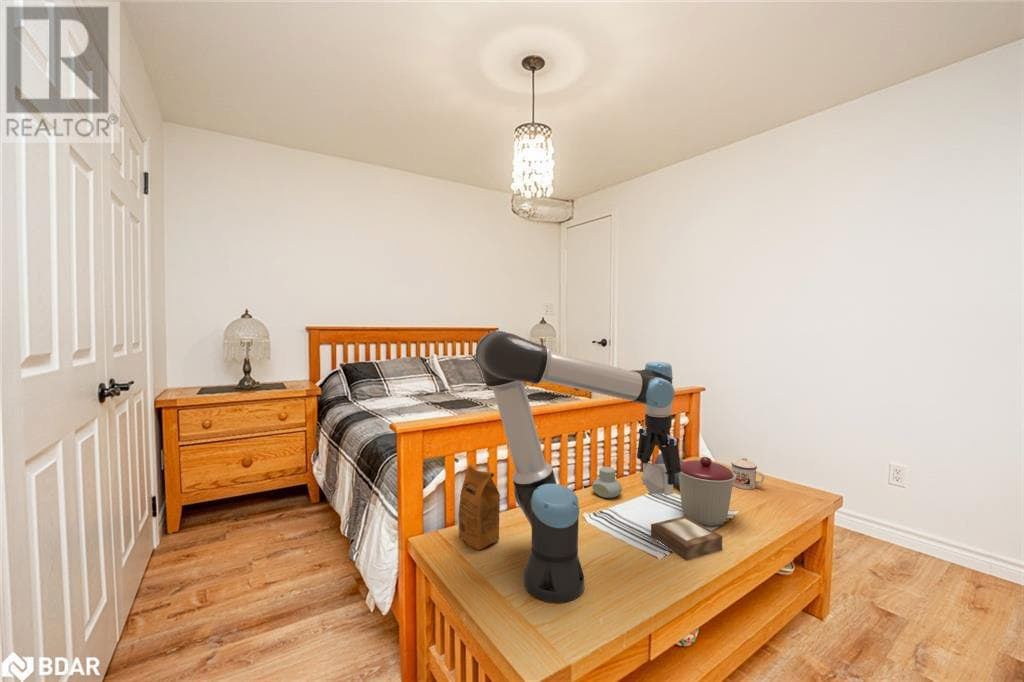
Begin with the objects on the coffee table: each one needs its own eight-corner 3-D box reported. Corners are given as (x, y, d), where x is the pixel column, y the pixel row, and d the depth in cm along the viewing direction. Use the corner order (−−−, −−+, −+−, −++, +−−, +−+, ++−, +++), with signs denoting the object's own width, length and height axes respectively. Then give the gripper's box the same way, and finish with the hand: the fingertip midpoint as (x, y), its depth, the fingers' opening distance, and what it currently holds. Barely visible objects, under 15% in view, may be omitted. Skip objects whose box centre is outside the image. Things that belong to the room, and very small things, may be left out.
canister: (732, 513, 148) (735, 453, 147) (735, 537, 132) (738, 470, 131) (676, 503, 156) (678, 446, 155) (673, 524, 139) (675, 461, 138)
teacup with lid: (727, 485, 173) (728, 457, 172) (735, 479, 179) (736, 452, 179) (760, 494, 164) (761, 464, 164) (767, 488, 171) (768, 459, 170)
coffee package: (480, 526, 137) (480, 458, 136) (503, 542, 127) (504, 470, 126) (453, 536, 131) (453, 465, 130) (476, 553, 121) (476, 477, 120)
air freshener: (588, 493, 164) (589, 467, 163) (601, 487, 169) (601, 463, 169) (612, 502, 156) (613, 475, 155) (625, 496, 161) (626, 470, 161)
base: (686, 560, 119) (687, 545, 119) (650, 536, 131) (651, 523, 131) (721, 549, 125) (722, 535, 124) (684, 527, 137) (684, 514, 137)
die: (668, 502, 123) (683, 471, 125) (639, 485, 124) (655, 455, 127) (659, 501, 131) (674, 472, 133) (633, 485, 132) (647, 456, 135)
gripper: (696, 420, 119) (694, 499, 121) (643, 406, 138) (642, 475, 140) (676, 423, 116) (675, 505, 117) (624, 408, 135) (624, 479, 136)
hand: (657, 488), depth 129 cm, fingers closed on die, 8 cm apart
